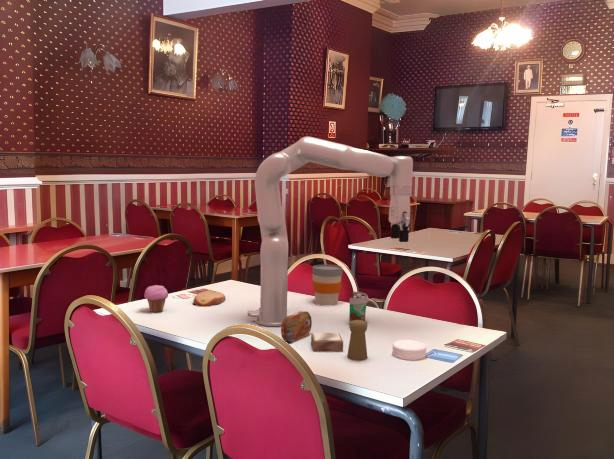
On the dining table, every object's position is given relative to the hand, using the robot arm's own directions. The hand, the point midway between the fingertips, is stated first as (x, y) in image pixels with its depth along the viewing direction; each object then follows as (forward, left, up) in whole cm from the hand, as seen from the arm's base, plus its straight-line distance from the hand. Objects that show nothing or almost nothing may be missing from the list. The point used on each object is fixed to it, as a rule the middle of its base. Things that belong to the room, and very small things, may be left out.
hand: (399, 240), depth 209 cm
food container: (-13, +2, -31) cm, 33 cm away
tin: (-37, -18, -31) cm, 51 cm away
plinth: (-28, -27, -30) cm, 49 cm away
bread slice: (-70, +36, -31) cm, 85 cm away
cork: (-20, -37, -31) cm, 52 cm away
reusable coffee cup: (-22, +32, -31) cm, 49 cm away
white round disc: (-4, -35, -31) cm, 47 cm away
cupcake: (-88, +18, -31) cm, 95 cm away
